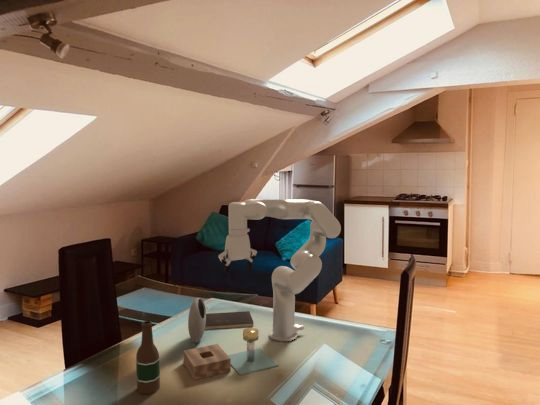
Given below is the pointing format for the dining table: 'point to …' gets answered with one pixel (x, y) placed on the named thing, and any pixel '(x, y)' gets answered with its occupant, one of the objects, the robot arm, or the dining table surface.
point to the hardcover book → (228, 320)
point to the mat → (259, 362)
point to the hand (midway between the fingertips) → (238, 272)
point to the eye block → (206, 361)
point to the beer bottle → (147, 362)
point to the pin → (250, 342)
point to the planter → (197, 320)
